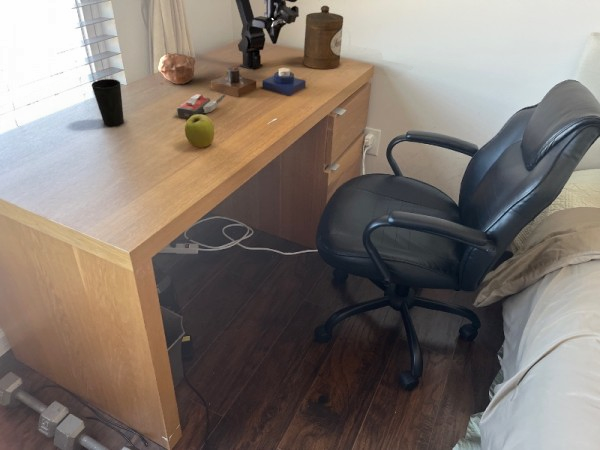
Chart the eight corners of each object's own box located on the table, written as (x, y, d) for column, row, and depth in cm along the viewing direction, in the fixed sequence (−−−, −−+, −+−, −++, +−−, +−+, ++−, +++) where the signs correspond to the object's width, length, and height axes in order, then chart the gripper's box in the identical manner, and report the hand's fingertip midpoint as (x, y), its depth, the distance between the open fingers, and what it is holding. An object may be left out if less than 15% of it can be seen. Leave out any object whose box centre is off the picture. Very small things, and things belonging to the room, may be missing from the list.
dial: (234, 83, 164) (234, 71, 162) (225, 81, 166) (225, 68, 163) (242, 80, 167) (241, 68, 165) (233, 78, 169) (232, 65, 166)
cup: (132, 120, 144) (125, 81, 137) (117, 130, 138) (108, 89, 131) (111, 116, 146) (103, 77, 139) (94, 125, 140) (85, 85, 133)
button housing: (262, 88, 170) (262, 74, 167) (278, 80, 177) (278, 67, 174) (290, 95, 165) (290, 81, 162) (305, 87, 172) (306, 74, 169)
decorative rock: (161, 87, 167) (157, 58, 161) (158, 77, 175) (154, 49, 170) (199, 84, 171) (196, 56, 165) (194, 74, 179) (192, 47, 173)
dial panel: (212, 89, 167) (211, 80, 166) (230, 81, 174) (229, 73, 172) (238, 97, 162) (238, 88, 160) (256, 89, 169) (256, 80, 167)
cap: (276, 75, 168) (276, 69, 167) (282, 72, 171) (282, 67, 169) (285, 78, 166) (285, 72, 165) (292, 75, 169) (292, 69, 168)
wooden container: (340, 70, 190) (345, 10, 177) (303, 68, 189) (305, 9, 176) (338, 58, 202) (343, 2, 189) (303, 57, 201) (305, 1, 188)
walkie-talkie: (200, 122, 144) (227, 99, 160) (198, 109, 142) (226, 87, 157) (174, 118, 146) (203, 96, 162) (172, 104, 144) (202, 83, 159)
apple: (210, 131, 137) (210, 103, 130) (217, 150, 133) (216, 123, 125) (183, 134, 135) (180, 106, 127) (188, 154, 131) (186, 126, 123)
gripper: (278, 4, 155) (277, 53, 164) (308, -4, 168) (306, 42, 177) (250, 0, 159) (252, 47, 169) (282, -8, 172) (282, 37, 181)
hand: (274, 43), depth 174 cm, fingers closed
